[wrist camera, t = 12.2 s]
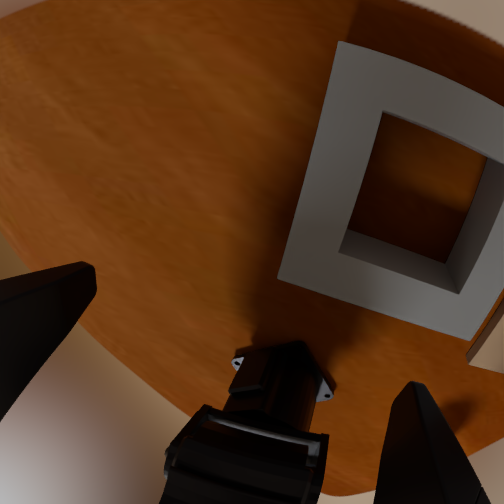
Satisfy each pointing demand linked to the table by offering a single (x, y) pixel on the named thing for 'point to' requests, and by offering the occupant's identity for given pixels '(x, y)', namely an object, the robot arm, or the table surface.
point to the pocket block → (349, 182)
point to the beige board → (490, 344)
